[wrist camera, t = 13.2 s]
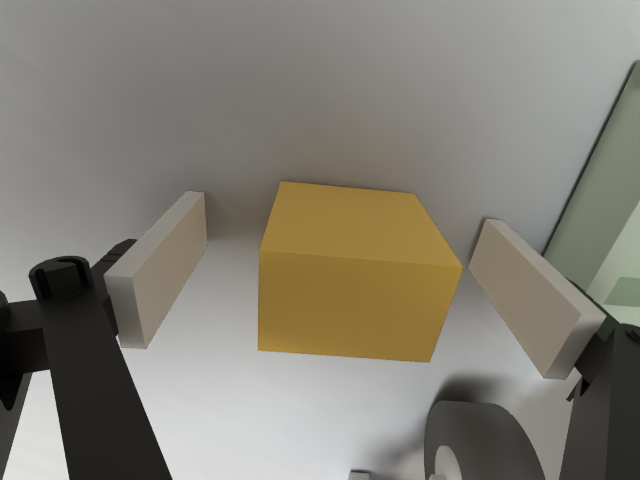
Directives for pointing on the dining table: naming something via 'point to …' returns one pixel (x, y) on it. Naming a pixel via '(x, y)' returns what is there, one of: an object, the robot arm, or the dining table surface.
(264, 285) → the block
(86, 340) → the robot arm
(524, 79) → the dining table surface
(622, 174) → the tray
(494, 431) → the cart
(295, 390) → the dining table surface
